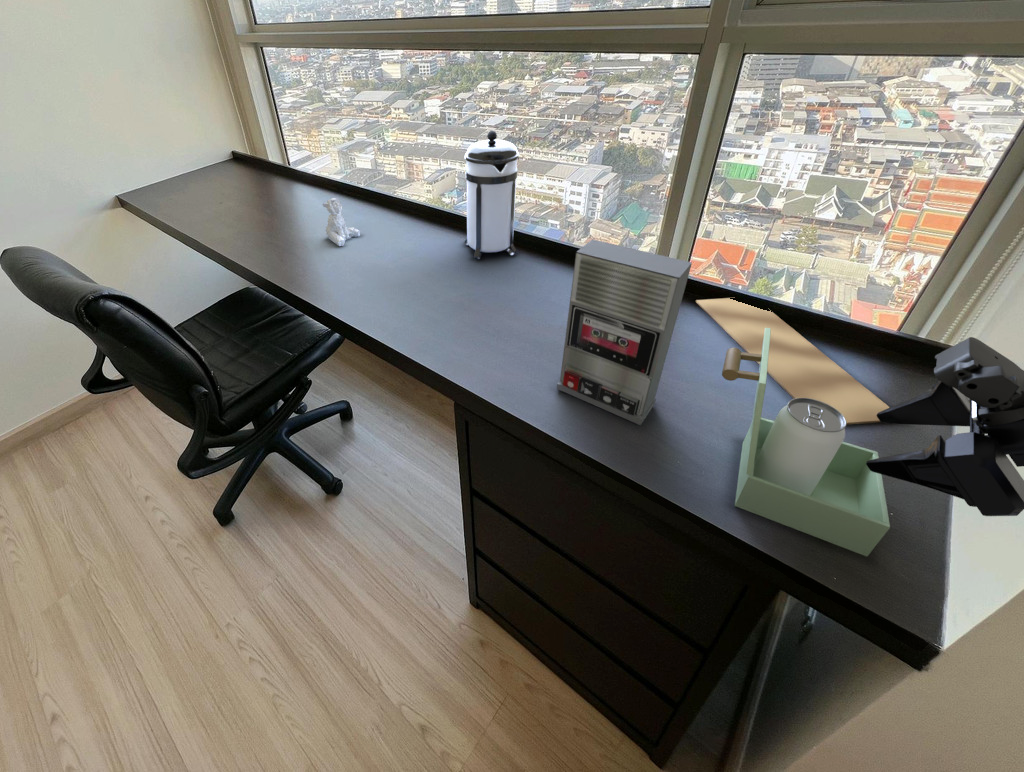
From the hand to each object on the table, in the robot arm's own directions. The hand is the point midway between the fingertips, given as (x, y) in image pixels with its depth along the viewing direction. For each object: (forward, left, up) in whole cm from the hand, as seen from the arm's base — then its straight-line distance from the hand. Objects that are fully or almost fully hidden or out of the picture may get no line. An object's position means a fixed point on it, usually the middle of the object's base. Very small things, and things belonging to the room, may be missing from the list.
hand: (873, 440), depth 53 cm
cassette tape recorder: (+29, -6, -12) cm, 32 cm away
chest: (+3, 0, -12) cm, 12 cm away
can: (+5, -1, -11) cm, 13 cm away
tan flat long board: (+6, -34, -12) cm, 36 cm away
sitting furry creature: (+113, -37, -12) cm, 120 cm away
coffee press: (+72, -50, -12) cm, 89 cm away
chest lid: (+11, 0, +1) cm, 11 cm away
